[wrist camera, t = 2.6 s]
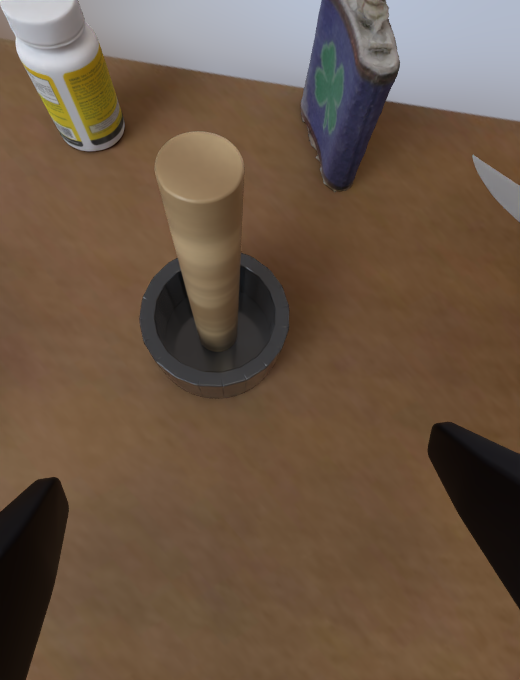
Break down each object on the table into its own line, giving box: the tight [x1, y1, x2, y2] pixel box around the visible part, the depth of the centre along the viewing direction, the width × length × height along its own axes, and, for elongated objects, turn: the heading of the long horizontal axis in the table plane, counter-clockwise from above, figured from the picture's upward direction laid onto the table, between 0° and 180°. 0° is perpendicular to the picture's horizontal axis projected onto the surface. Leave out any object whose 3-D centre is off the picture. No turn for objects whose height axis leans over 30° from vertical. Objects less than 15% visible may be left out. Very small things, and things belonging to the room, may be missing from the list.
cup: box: [139, 253, 289, 399], centre depth 22 cm, size 8×8×4 cm
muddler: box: [155, 131, 244, 352], centre depth 16 cm, size 2×2×14 cm
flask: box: [301, 0, 400, 192], centre depth 24 cm, size 9×3×11 cm, turn 13°
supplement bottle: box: [0, 0, 125, 151], centre depth 24 cm, size 5×5×8 cm
